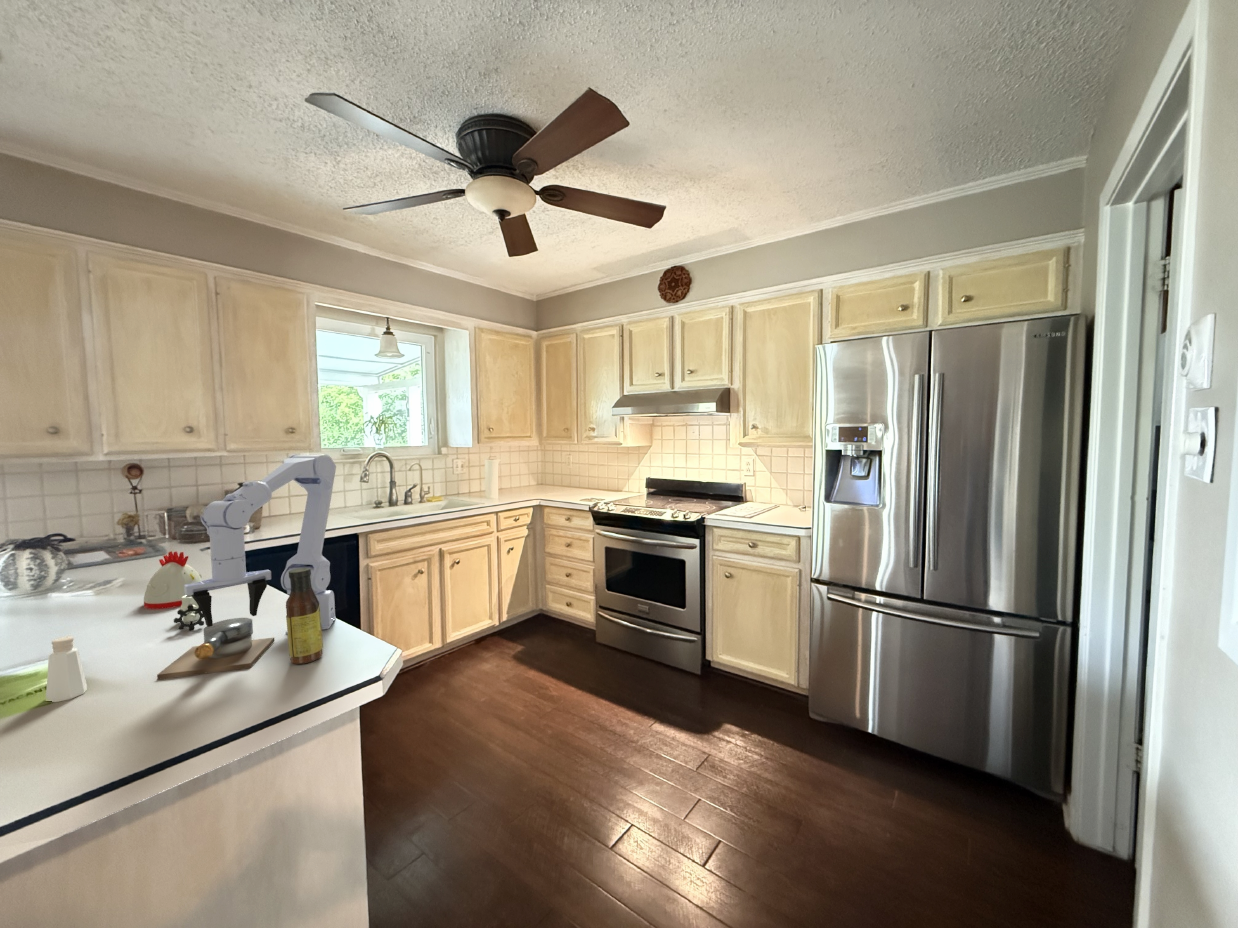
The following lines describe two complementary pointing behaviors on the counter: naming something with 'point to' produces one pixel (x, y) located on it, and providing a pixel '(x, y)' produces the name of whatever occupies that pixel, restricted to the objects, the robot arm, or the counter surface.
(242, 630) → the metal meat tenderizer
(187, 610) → the valve
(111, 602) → the counter surface
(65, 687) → the pepper shaker
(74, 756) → the counter surface
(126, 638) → the counter surface
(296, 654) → the sauce bottle
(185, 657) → the thin wooden panel
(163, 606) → the white and red dome
